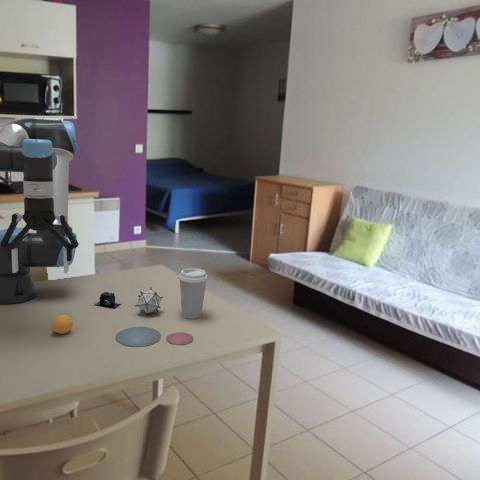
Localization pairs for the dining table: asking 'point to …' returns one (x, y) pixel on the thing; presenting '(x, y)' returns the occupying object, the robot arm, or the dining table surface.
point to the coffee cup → (192, 292)
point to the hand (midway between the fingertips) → (41, 272)
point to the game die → (149, 301)
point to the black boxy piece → (107, 304)
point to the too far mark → (179, 338)
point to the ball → (62, 324)
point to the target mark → (138, 336)
